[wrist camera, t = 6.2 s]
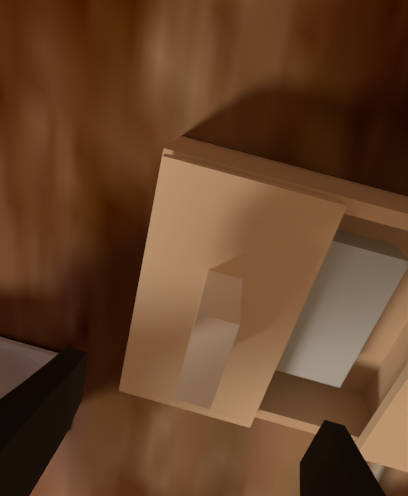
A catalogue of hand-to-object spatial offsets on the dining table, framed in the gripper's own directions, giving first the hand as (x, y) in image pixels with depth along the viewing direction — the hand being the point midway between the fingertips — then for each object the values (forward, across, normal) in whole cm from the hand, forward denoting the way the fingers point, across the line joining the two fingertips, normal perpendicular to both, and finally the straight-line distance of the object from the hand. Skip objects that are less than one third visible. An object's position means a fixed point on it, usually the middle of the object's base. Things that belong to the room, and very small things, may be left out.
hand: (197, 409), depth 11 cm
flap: (+5, 0, 0) cm, 5 cm away
